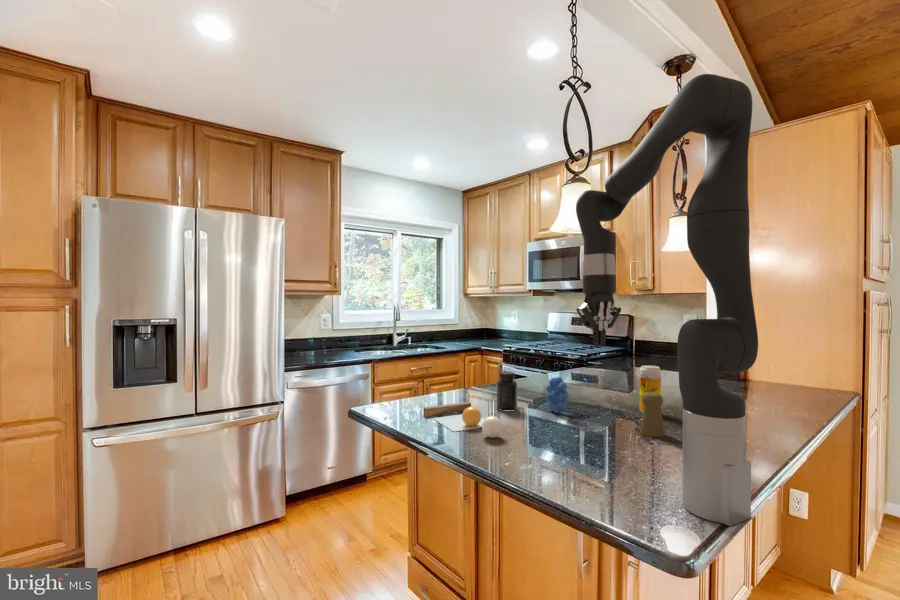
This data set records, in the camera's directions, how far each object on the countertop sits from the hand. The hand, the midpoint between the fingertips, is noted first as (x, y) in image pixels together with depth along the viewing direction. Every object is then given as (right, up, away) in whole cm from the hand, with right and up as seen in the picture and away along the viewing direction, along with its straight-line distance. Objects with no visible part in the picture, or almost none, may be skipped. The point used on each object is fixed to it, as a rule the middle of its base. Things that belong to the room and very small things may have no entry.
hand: (599, 346), depth 101 cm
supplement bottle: (-17, -25, +39) cm, 50 cm away
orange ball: (-30, -23, +20) cm, 42 cm away
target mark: (-32, -25, +24) cm, 47 cm away
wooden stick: (-37, -25, +34) cm, 56 cm away
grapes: (-1, -26, +34) cm, 42 cm away
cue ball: (-25, -23, +10) cm, 35 cm away
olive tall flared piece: (+19, -26, +14) cm, 35 cm away
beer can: (+28, -26, +34) cm, 51 cm away
